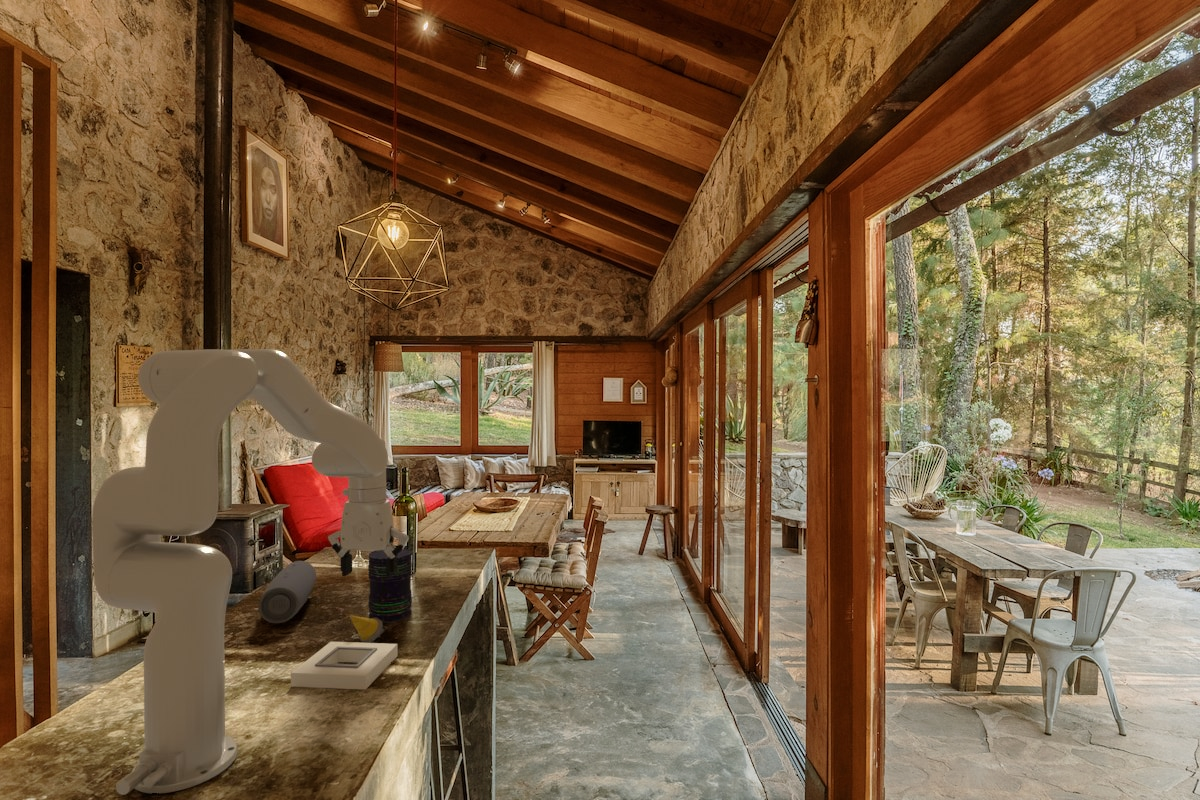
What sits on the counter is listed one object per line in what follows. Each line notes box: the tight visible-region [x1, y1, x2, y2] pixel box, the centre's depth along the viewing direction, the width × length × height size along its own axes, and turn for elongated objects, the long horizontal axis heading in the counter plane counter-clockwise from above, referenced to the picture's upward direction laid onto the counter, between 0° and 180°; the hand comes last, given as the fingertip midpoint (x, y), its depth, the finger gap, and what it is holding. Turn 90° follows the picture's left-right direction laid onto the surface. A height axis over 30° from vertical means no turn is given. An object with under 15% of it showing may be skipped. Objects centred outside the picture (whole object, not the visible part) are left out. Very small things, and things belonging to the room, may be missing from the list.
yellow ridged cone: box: [349, 615, 385, 643], centre depth 131 cm, size 5×5×10 cm
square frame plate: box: [290, 641, 399, 691], centre depth 118 cm, size 14×14×3 cm
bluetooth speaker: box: [258, 560, 317, 624], centre depth 150 cm, size 23×9×10 cm, turn 15°
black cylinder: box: [367, 547, 413, 624], centre depth 147 cm, size 10×10×15 cm
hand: (369, 574), depth 131 cm, fingers open, 9 cm apart
